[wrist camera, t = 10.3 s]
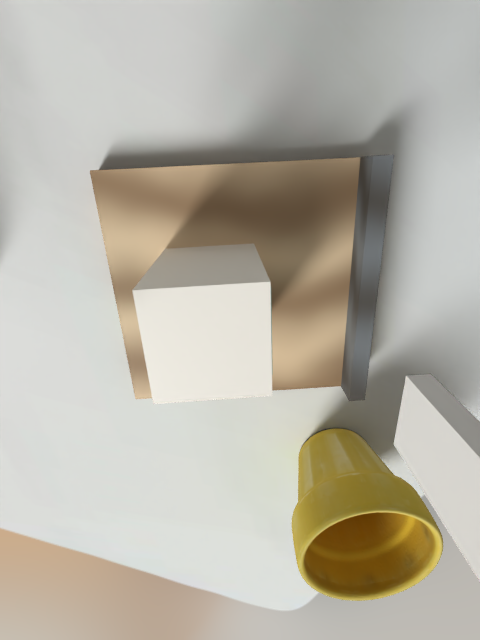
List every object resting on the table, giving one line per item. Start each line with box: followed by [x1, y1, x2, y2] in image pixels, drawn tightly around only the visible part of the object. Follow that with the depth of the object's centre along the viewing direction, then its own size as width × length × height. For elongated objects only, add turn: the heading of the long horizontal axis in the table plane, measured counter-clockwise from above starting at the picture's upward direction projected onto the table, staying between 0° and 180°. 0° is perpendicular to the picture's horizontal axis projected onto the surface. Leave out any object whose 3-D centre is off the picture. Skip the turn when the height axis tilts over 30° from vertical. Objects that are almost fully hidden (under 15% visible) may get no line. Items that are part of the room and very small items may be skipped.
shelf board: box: [90, 155, 394, 401], centre depth 24 cm, size 17×18×4 cm
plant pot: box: [292, 428, 443, 601], centre depth 28 cm, size 10×10×10 cm
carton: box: [132, 243, 273, 404], centre depth 20 cm, size 6×6×9 cm
